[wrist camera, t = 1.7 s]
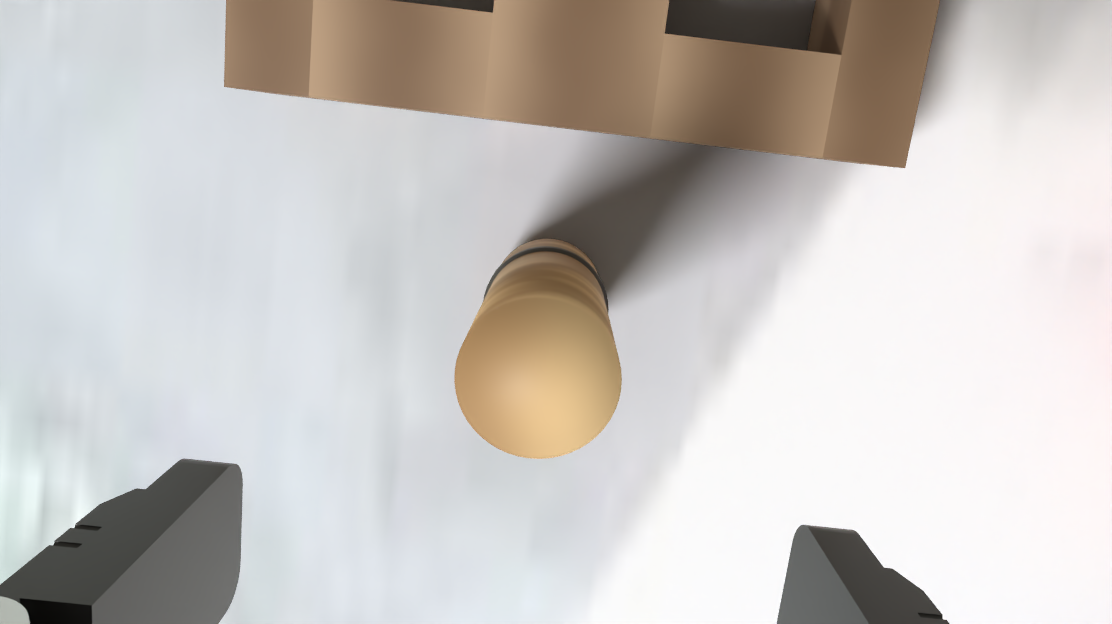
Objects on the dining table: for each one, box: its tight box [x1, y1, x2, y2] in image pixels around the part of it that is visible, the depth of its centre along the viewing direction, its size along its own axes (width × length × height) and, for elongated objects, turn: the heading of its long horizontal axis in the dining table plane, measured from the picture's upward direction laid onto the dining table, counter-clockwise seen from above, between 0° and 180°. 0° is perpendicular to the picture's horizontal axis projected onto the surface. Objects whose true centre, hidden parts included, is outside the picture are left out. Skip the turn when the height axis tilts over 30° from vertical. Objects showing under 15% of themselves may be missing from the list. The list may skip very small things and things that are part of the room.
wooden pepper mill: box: [455, 239, 622, 459], centre depth 25 cm, size 4×4×12 cm
